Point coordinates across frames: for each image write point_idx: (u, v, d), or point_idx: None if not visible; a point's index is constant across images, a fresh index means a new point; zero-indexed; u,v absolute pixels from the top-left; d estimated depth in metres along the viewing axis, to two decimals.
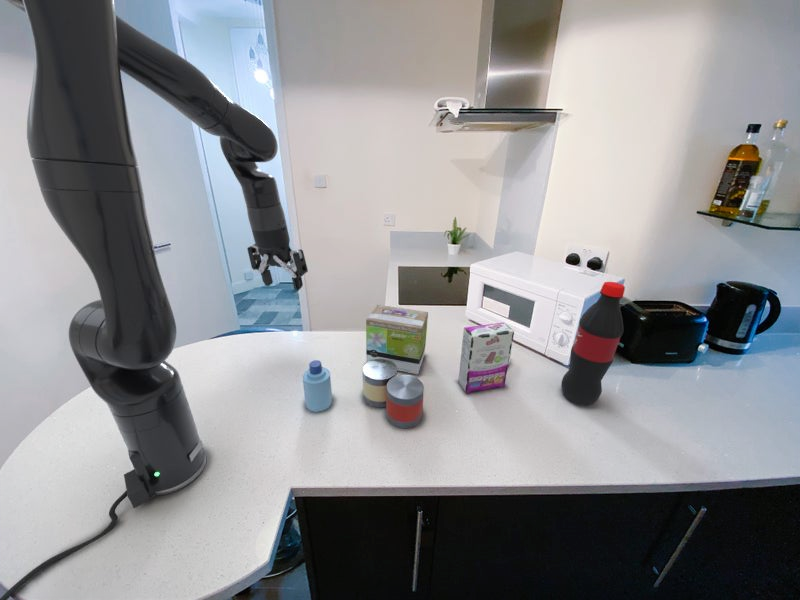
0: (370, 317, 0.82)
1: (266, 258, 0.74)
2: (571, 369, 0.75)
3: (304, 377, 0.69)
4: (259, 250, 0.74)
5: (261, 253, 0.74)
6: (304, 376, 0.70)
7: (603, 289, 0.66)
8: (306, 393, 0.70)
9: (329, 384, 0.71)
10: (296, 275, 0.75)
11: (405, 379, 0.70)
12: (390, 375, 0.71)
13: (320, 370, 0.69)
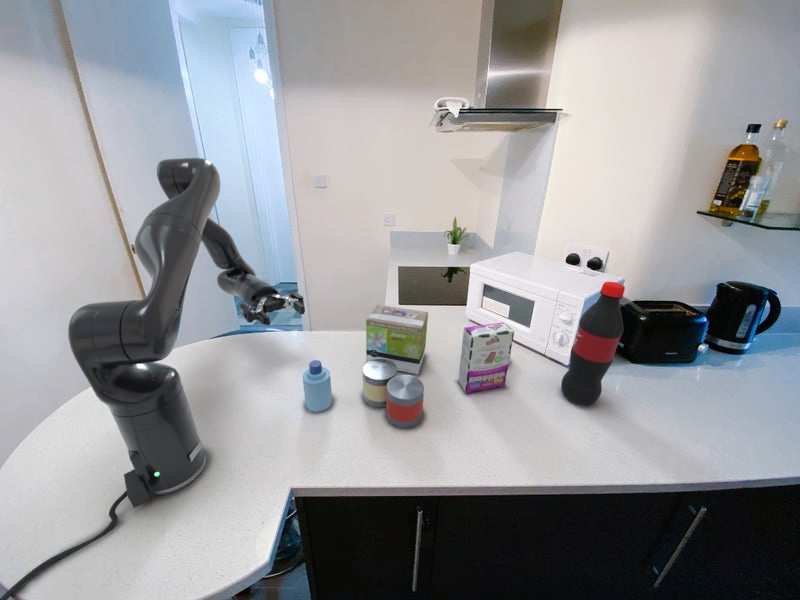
0: (370, 317, 0.82)
1: (264, 298, 0.78)
2: (571, 369, 0.75)
3: (304, 377, 0.69)
4: (254, 302, 0.78)
5: (256, 302, 0.78)
6: (304, 376, 0.70)
7: (603, 289, 0.66)
8: (306, 393, 0.70)
9: (329, 384, 0.71)
10: (297, 300, 0.80)
11: (405, 379, 0.70)
12: (390, 375, 0.71)
13: (320, 370, 0.69)
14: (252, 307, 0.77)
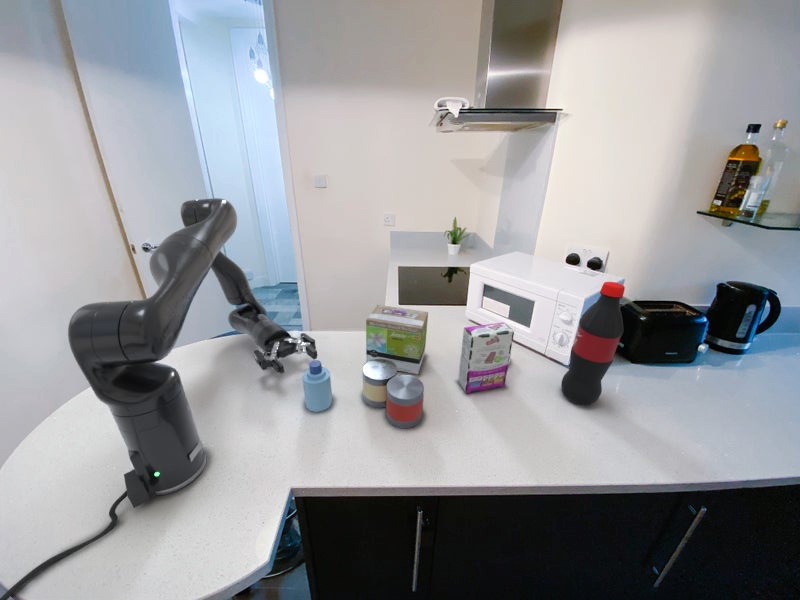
0: (370, 317, 0.82)
1: (277, 343, 0.80)
2: (571, 369, 0.75)
3: (304, 377, 0.69)
4: (267, 347, 0.79)
5: (269, 348, 0.79)
6: (304, 376, 0.70)
7: (603, 289, 0.66)
8: (306, 393, 0.70)
9: (329, 384, 0.71)
10: (309, 344, 0.82)
11: (405, 379, 0.70)
12: (390, 375, 0.71)
13: (320, 370, 0.69)
14: (265, 352, 0.79)
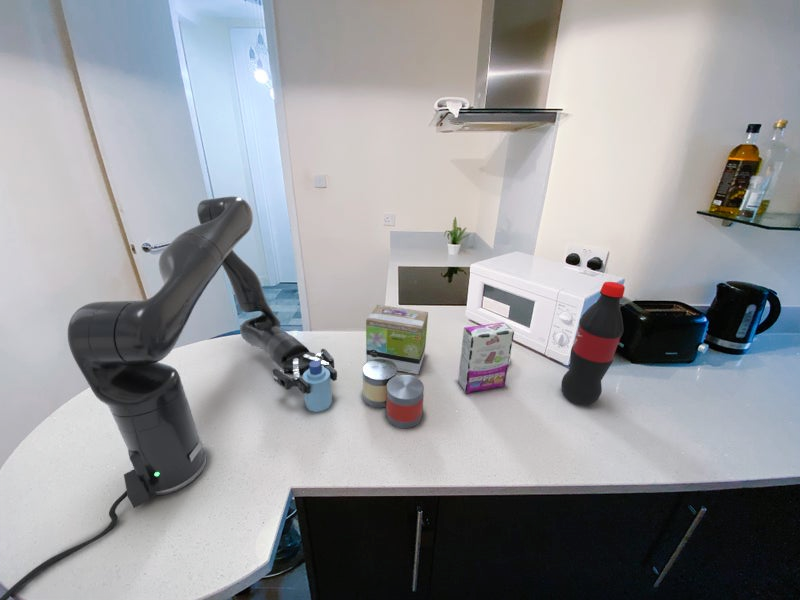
0: (370, 317, 0.82)
1: (296, 360, 0.73)
2: (571, 369, 0.75)
3: (304, 377, 0.69)
4: (285, 365, 0.73)
5: (288, 365, 0.73)
6: (304, 376, 0.70)
7: (603, 289, 0.66)
8: None
9: (329, 384, 0.71)
10: None
11: (405, 379, 0.70)
12: (390, 375, 0.71)
13: (320, 370, 0.69)
14: (283, 370, 0.73)
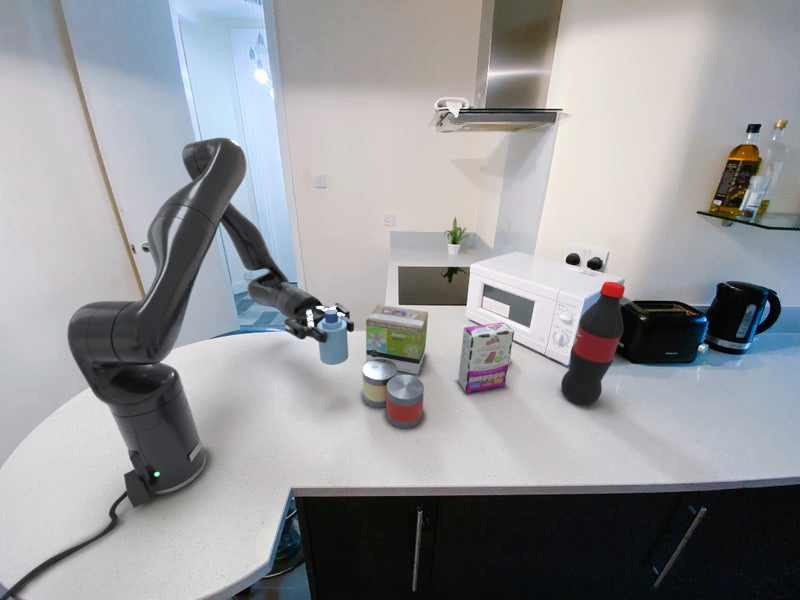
0: (370, 317, 0.82)
1: (310, 311, 0.68)
2: (571, 369, 0.75)
3: (319, 326, 0.64)
4: (297, 316, 0.68)
5: (301, 316, 0.68)
6: (319, 325, 0.65)
7: (603, 289, 0.66)
8: (321, 344, 0.64)
9: (346, 335, 0.66)
10: None
11: (405, 379, 0.70)
12: (390, 375, 0.71)
13: (336, 319, 0.64)
14: (296, 321, 0.68)
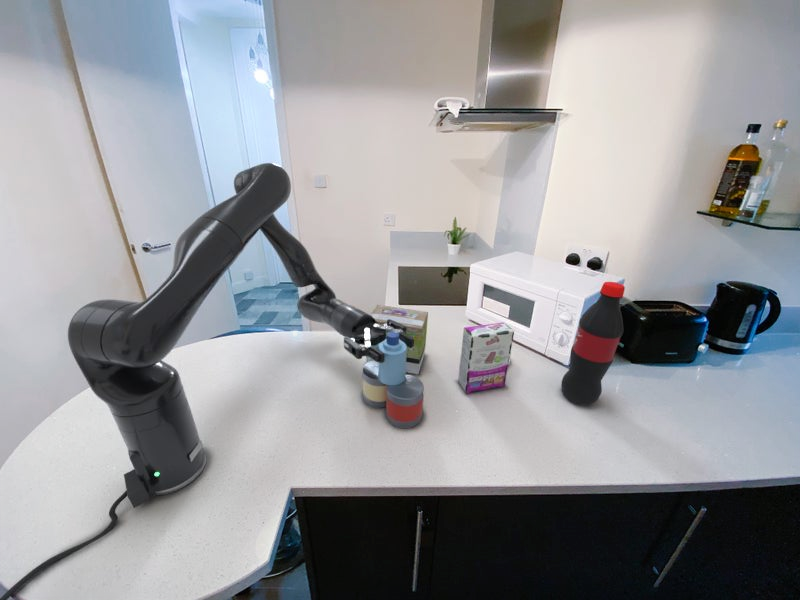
0: None
1: (368, 329, 0.70)
2: (571, 369, 0.75)
3: (381, 348, 0.66)
4: (356, 334, 0.70)
5: (359, 334, 0.69)
6: (380, 347, 0.66)
7: (603, 289, 0.66)
8: (383, 365, 0.66)
9: (405, 356, 0.68)
10: None
11: (405, 379, 0.70)
12: None
13: (398, 341, 0.66)
14: (355, 340, 0.69)
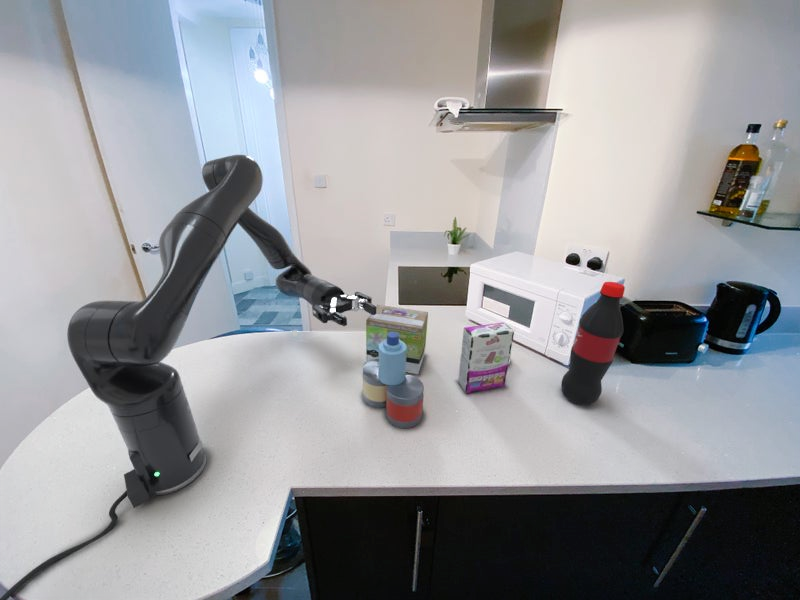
0: (370, 317, 0.82)
1: (335, 298, 0.77)
2: (571, 369, 0.75)
3: (381, 348, 0.66)
4: (324, 302, 0.77)
5: (327, 303, 0.76)
6: (380, 347, 0.66)
7: (603, 289, 0.66)
8: (383, 365, 0.66)
9: (405, 356, 0.68)
10: None
11: (405, 379, 0.70)
12: None
13: (398, 341, 0.66)
14: (323, 308, 0.76)
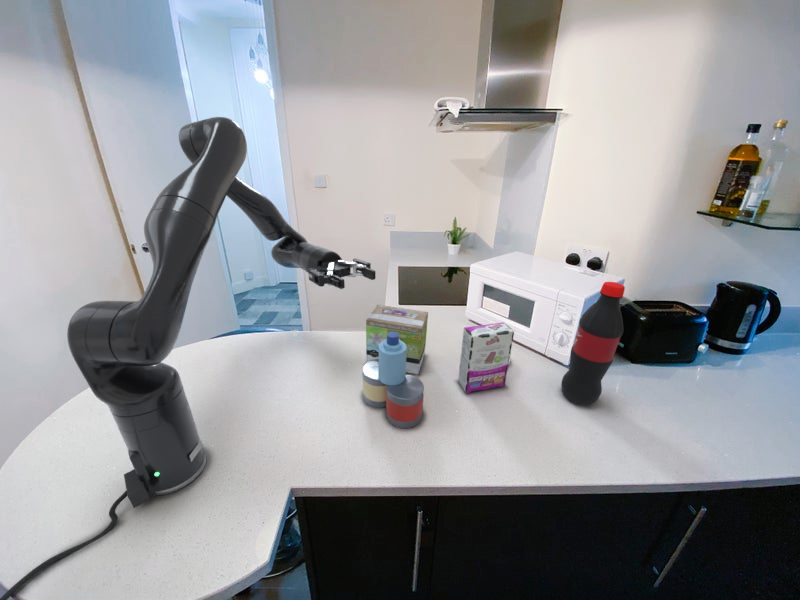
0: (370, 317, 0.82)
1: (332, 263, 0.73)
2: (571, 369, 0.75)
3: (381, 348, 0.66)
4: (321, 267, 0.73)
5: (324, 267, 0.73)
6: (380, 347, 0.66)
7: (603, 289, 0.66)
8: (383, 365, 0.66)
9: (405, 356, 0.68)
10: None
11: (405, 379, 0.70)
12: None
13: (398, 341, 0.66)
14: (320, 272, 0.72)
